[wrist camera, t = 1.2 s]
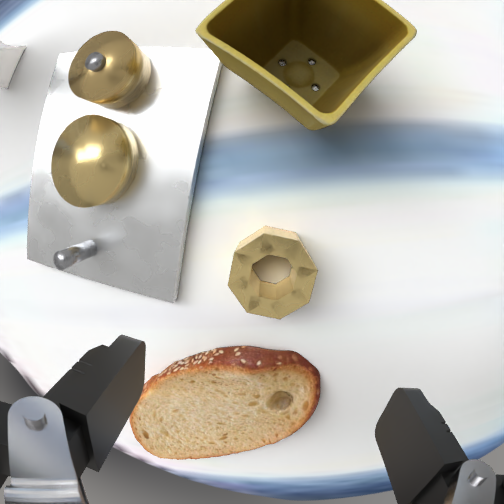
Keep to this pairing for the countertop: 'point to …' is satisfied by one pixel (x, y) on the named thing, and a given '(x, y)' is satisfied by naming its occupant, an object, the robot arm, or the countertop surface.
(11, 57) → the skyscraper
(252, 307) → the gold octagonal ring
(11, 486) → the robot arm
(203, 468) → the countertop surface
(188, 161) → the carrier
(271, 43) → the flower pot
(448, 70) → the countertop surface
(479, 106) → the countertop surface
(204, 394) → the slice of bread
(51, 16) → the countertop surface
